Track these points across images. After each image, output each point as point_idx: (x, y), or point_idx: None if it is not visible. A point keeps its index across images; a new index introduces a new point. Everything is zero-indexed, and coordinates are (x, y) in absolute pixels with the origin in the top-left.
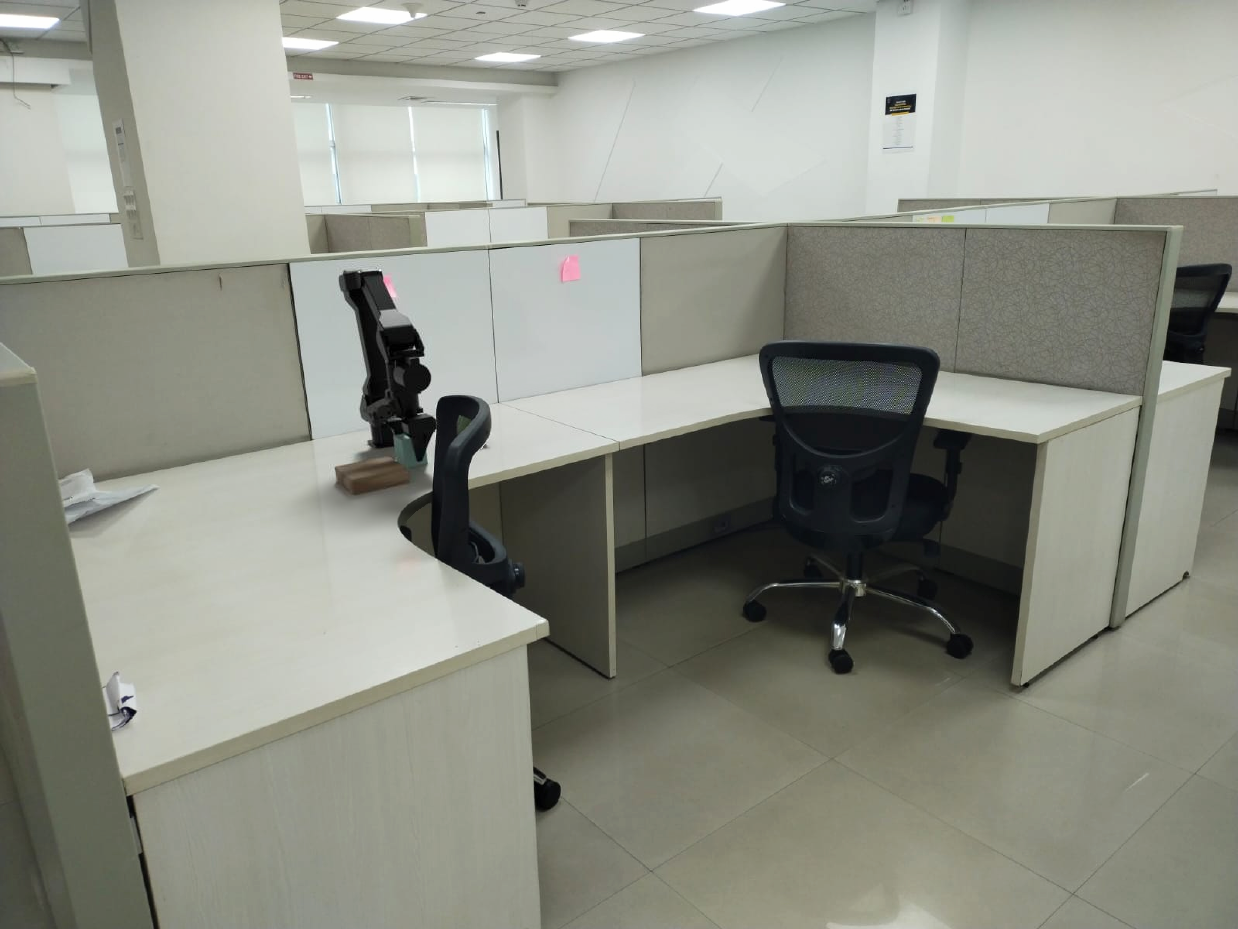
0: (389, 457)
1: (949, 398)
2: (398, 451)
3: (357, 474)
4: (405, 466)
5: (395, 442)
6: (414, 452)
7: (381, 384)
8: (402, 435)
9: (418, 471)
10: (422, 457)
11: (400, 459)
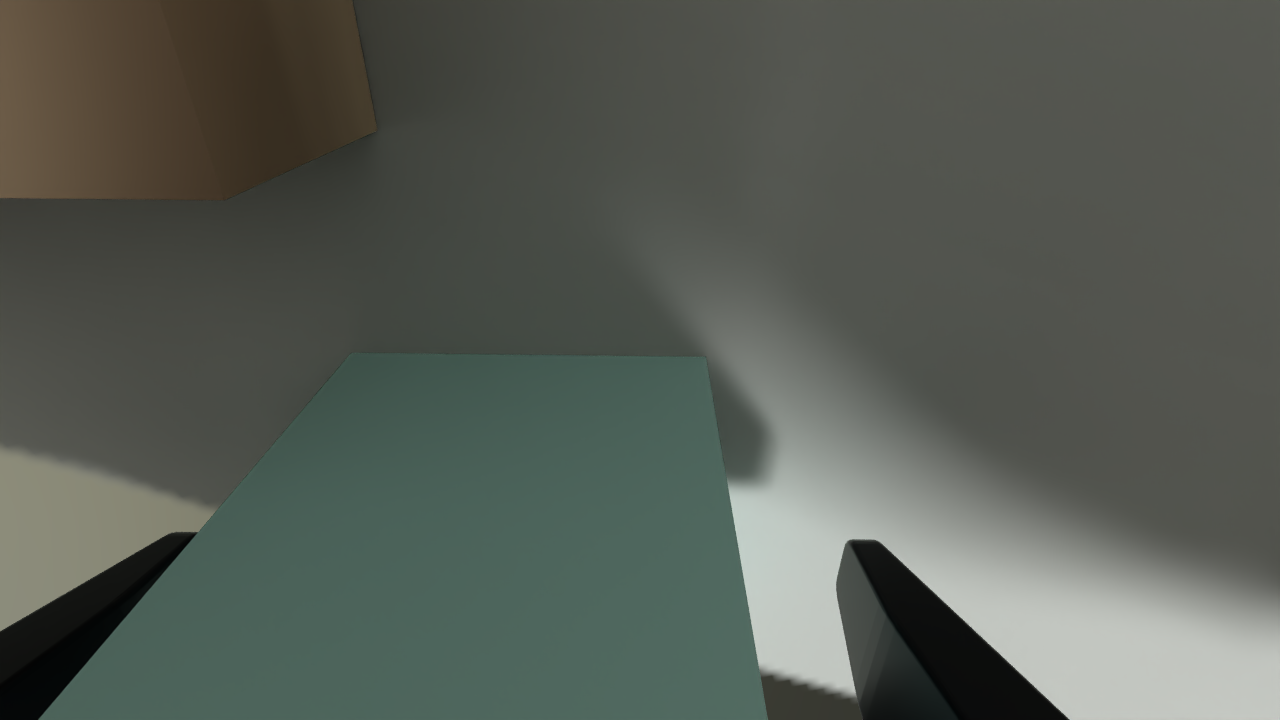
0: (28, 178)
1: None
2: (519, 499)
3: None
4: (340, 370)
5: (644, 657)
6: (22, 650)
7: None
8: None
9: (96, 422)
10: None
11: (492, 408)
